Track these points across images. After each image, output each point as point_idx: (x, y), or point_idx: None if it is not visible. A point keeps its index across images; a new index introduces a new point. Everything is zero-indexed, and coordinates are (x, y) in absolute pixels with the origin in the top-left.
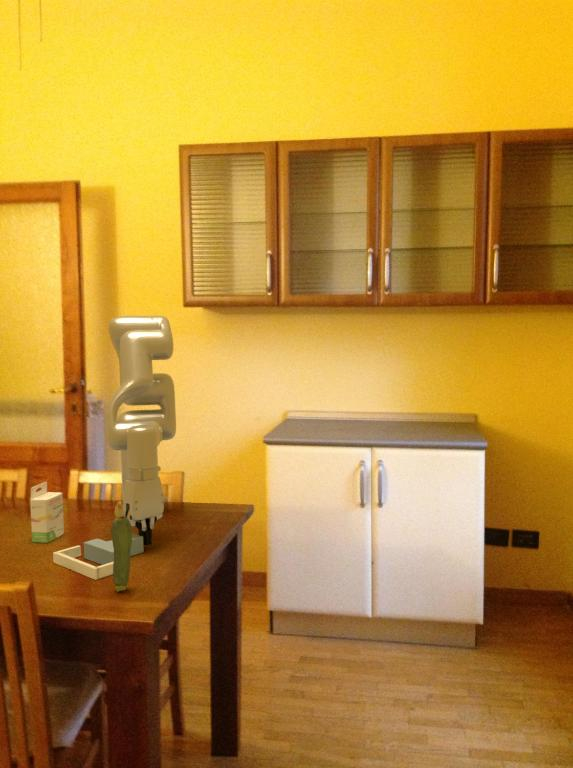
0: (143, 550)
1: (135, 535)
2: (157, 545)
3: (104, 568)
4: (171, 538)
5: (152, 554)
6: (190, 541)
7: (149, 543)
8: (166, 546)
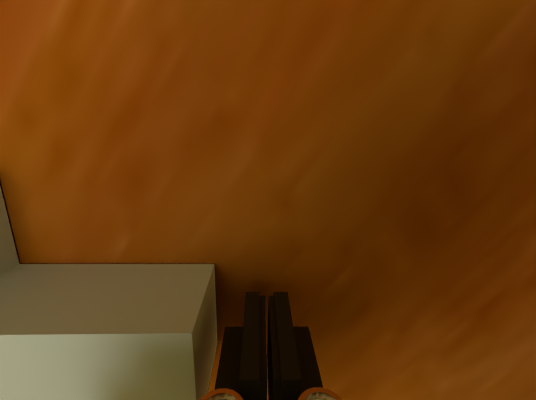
0: (215, 349)
1: (176, 379)
2: (341, 312)
3: None
4: (479, 279)
5: None
6: (481, 385)
7: (267, 362)
8: (356, 356)
